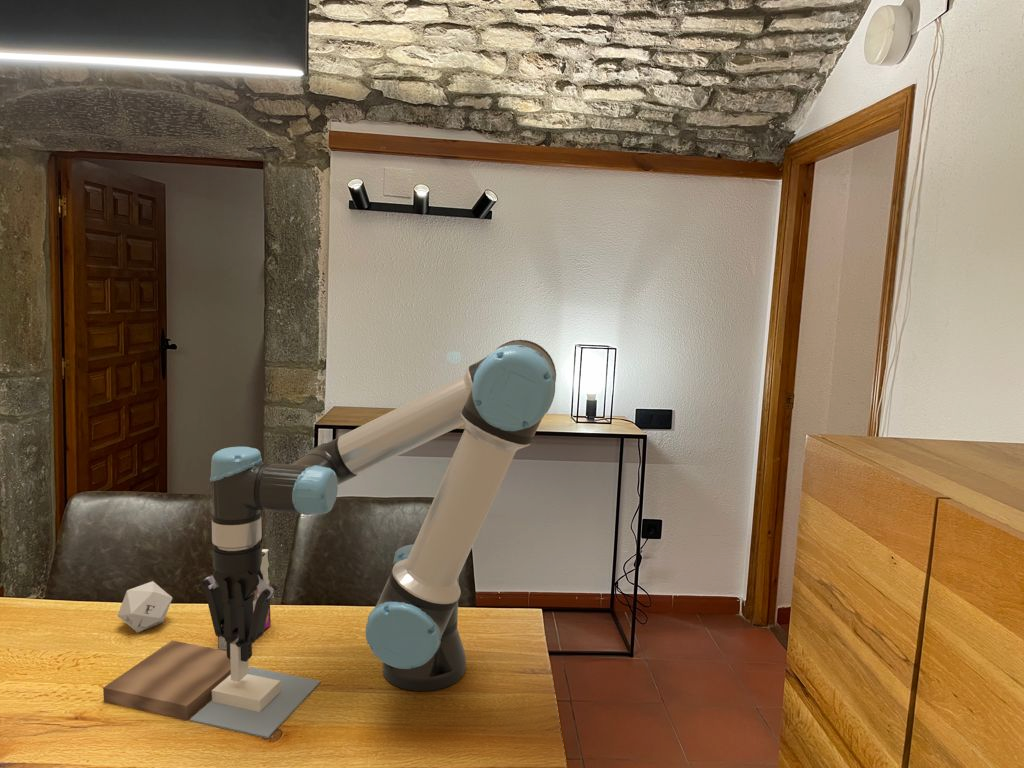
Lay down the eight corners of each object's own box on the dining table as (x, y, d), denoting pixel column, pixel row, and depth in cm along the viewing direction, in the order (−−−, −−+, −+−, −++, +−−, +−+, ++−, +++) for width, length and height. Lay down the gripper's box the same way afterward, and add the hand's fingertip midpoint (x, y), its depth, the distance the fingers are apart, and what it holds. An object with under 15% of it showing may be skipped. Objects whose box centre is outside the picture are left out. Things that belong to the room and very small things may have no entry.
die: (109, 637, 138) (125, 607, 134) (119, 598, 145) (134, 568, 141) (156, 643, 142) (172, 615, 138) (163, 605, 149) (179, 576, 145)
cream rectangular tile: (280, 691, 122) (280, 680, 121) (259, 711, 116) (259, 700, 115) (234, 682, 124) (234, 671, 123) (211, 701, 118) (211, 690, 118)
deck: (248, 668, 129) (247, 655, 128) (187, 720, 113) (186, 705, 113) (172, 652, 133) (172, 640, 132) (103, 701, 117) (103, 687, 117)
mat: (320, 682, 125) (320, 680, 125) (267, 738, 110) (267, 736, 110) (250, 668, 129) (250, 666, 129) (189, 720, 113) (189, 719, 113)
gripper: (285, 539, 118) (286, 671, 122) (217, 529, 121) (220, 658, 125) (259, 556, 111) (260, 696, 114) (187, 545, 114) (191, 681, 117)
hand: (239, 676), depth 120 cm, fingers closed
